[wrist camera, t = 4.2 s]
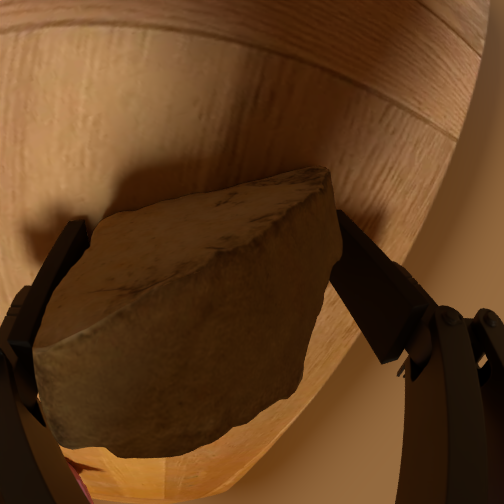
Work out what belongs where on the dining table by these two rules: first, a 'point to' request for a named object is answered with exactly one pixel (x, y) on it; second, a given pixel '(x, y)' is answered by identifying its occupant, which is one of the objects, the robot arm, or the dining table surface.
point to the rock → (187, 316)
